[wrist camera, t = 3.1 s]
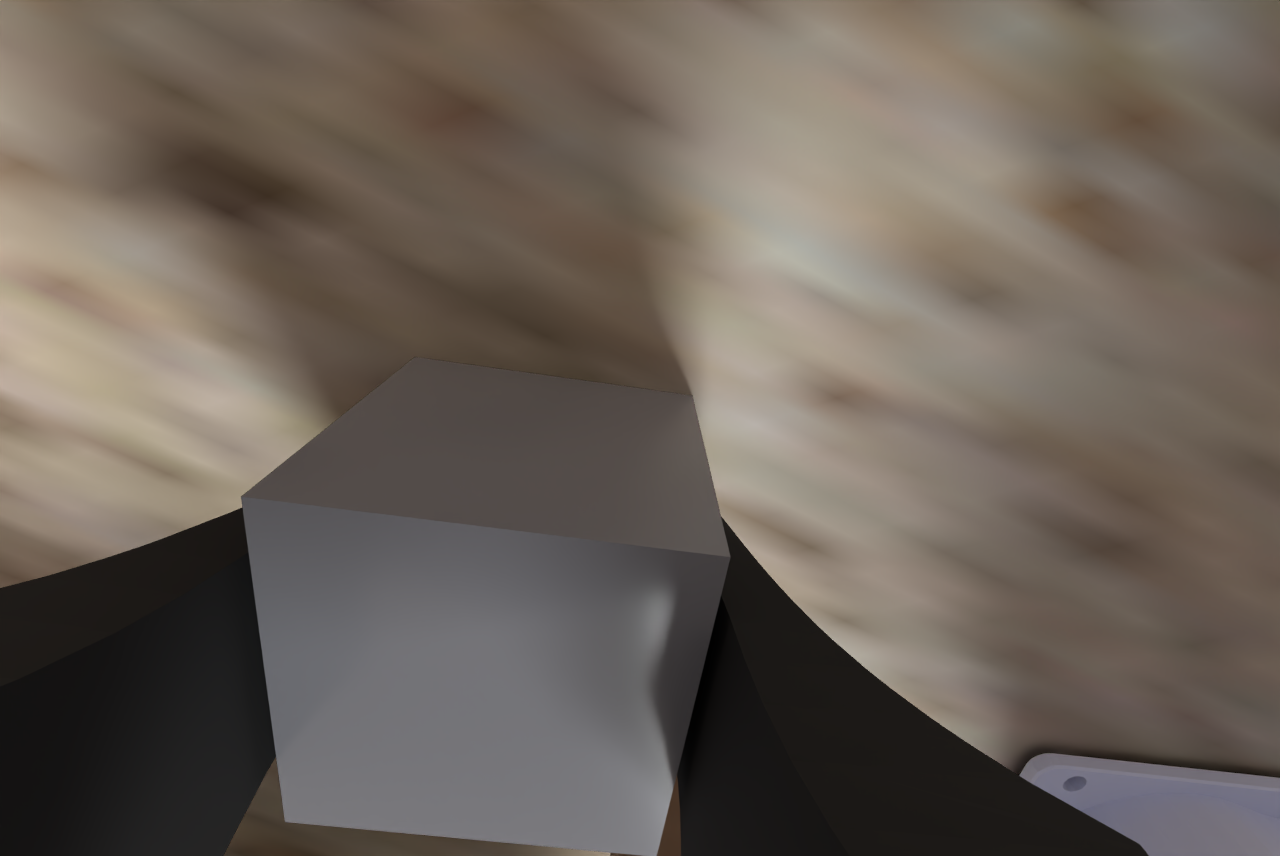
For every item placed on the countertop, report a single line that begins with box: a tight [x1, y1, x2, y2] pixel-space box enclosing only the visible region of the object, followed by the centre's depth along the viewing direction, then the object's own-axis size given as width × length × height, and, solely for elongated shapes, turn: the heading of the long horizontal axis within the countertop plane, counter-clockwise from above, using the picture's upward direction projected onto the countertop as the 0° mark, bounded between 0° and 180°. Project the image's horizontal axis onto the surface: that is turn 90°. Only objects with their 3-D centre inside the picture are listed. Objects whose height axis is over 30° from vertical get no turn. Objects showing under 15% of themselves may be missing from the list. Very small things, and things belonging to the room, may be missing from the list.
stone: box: [241, 357, 730, 856], centre depth 9 cm, size 5×5×5 cm
